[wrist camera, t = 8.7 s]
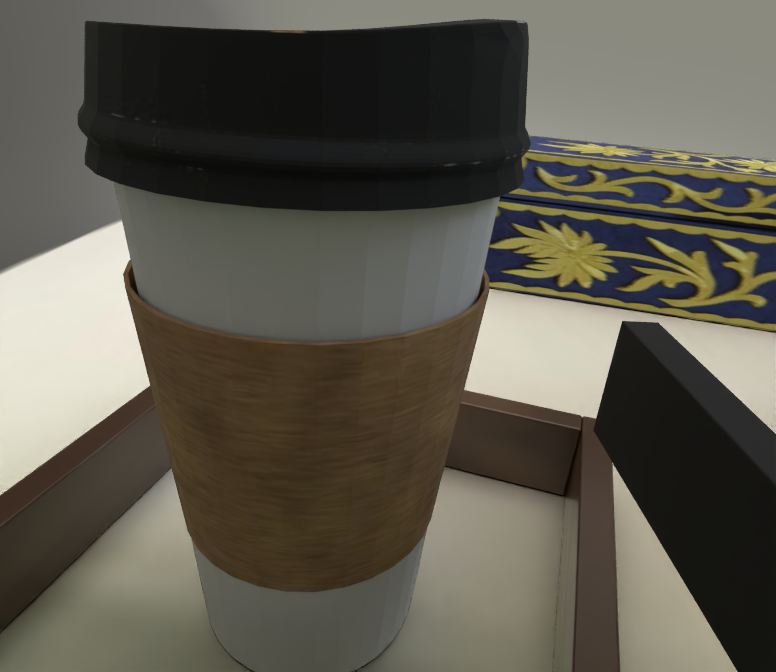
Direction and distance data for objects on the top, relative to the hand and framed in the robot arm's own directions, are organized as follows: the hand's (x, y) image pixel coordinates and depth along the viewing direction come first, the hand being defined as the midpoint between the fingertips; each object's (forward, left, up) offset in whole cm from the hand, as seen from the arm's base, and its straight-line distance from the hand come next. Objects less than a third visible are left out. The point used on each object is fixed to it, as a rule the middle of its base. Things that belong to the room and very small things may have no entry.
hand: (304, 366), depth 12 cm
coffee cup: (0, -2, -9) cm, 9 cm away
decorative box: (-11, -34, -9) cm, 37 cm away
